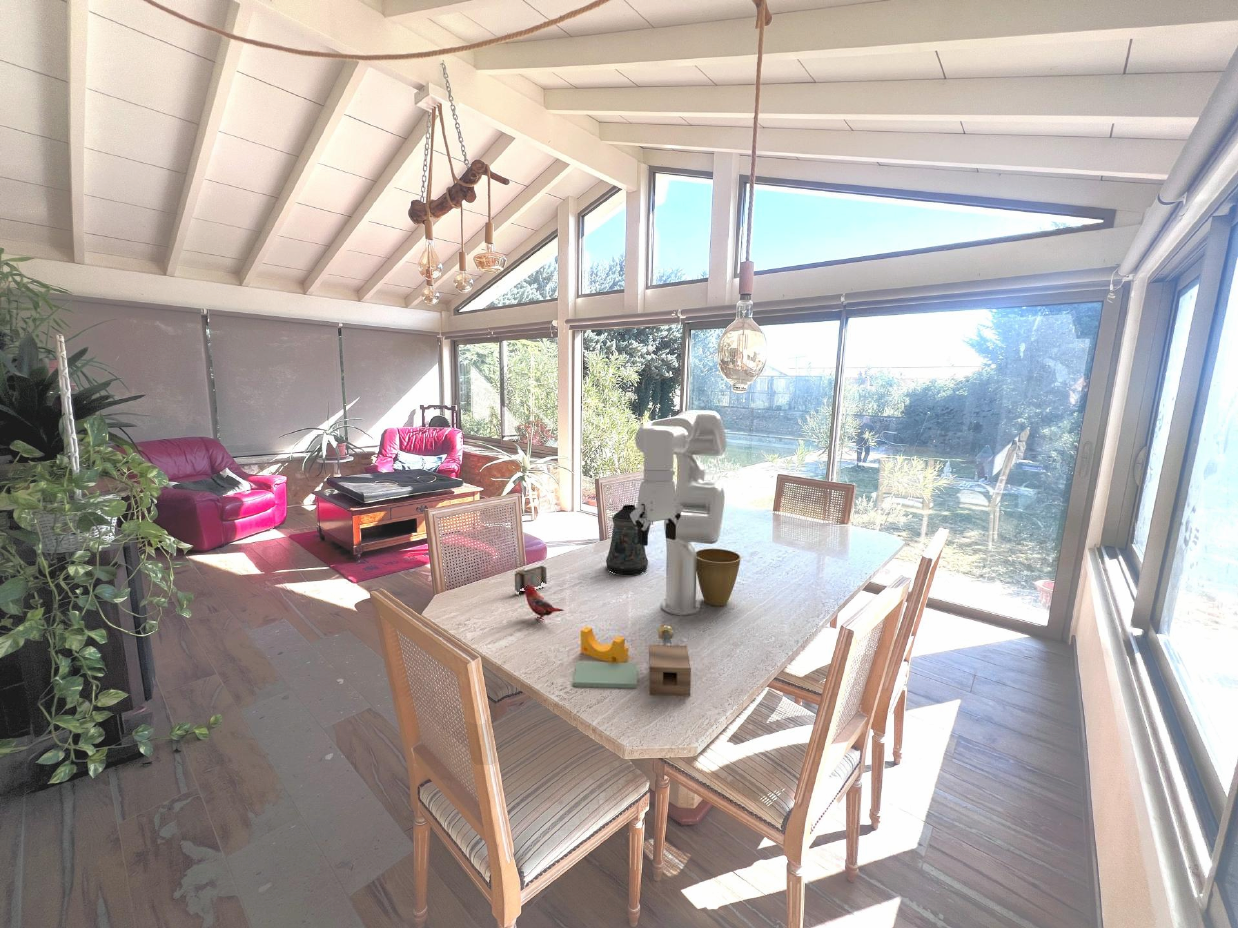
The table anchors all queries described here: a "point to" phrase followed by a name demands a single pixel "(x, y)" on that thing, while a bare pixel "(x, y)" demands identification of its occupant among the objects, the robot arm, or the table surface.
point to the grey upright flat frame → (530, 577)
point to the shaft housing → (669, 670)
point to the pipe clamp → (603, 647)
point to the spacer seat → (606, 674)
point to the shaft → (665, 634)
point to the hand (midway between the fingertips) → (657, 541)
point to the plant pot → (717, 574)
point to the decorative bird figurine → (538, 603)
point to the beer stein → (626, 545)
